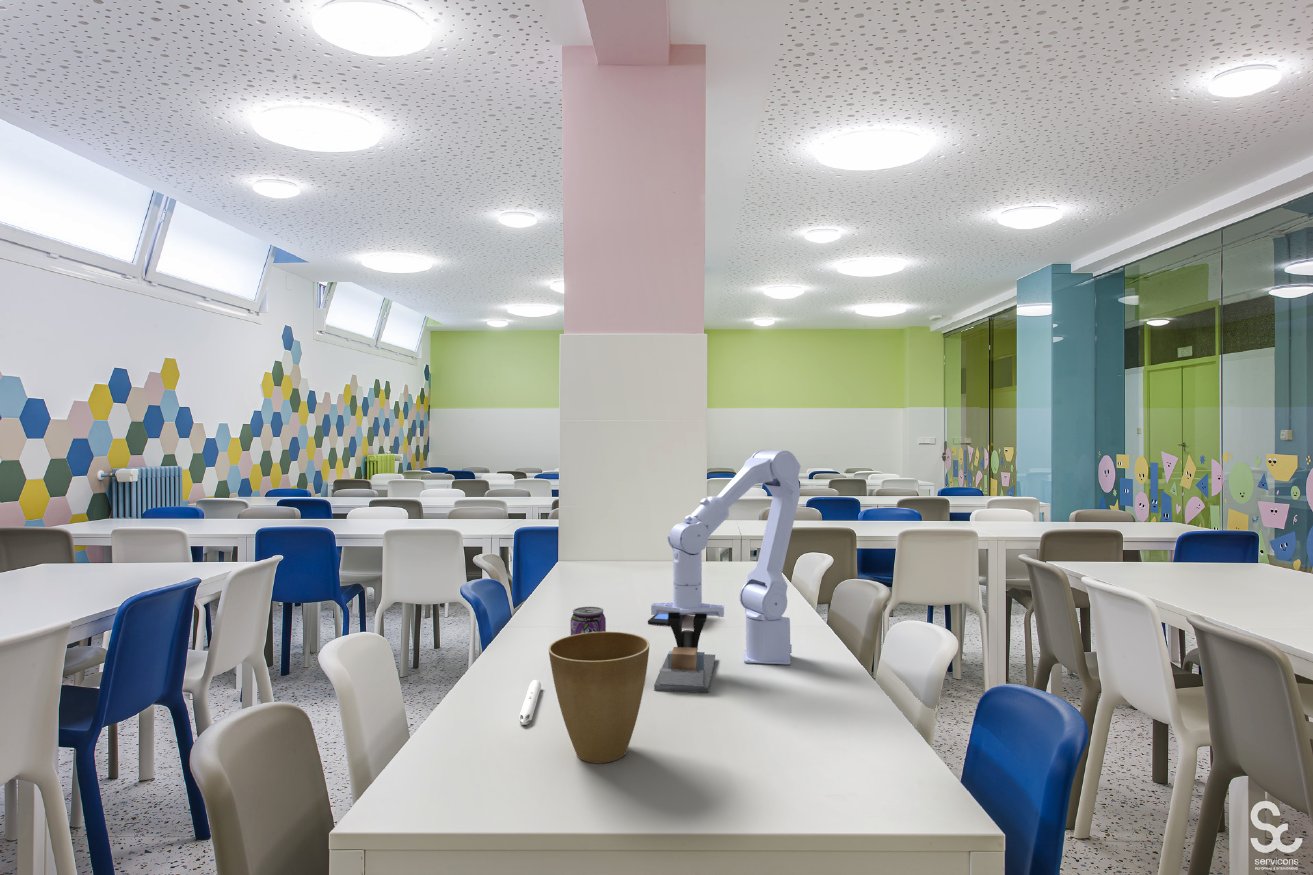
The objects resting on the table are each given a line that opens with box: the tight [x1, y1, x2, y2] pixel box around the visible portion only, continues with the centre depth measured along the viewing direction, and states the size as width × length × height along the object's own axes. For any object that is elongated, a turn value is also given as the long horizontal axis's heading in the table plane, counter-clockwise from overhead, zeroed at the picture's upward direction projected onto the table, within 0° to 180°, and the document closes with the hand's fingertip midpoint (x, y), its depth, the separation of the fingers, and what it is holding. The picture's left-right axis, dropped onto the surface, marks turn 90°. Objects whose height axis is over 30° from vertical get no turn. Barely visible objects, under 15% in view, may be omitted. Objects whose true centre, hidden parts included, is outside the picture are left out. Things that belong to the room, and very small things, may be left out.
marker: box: [518, 679, 542, 726], centre depth 122 cm, size 18×2×2 cm, turn 4°
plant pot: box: [547, 631, 650, 764], centre depth 104 cm, size 15×15×16 cm
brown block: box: [671, 646, 698, 670], centre depth 134 cm, size 4×4×5 cm
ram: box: [667, 629, 705, 671], centre depth 140 cm, size 6×7×6 cm
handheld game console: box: [647, 614, 688, 627], centre depth 182 cm, size 12×11×7 cm
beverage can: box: [570, 606, 607, 636], centre depth 142 cm, size 7×7×12 cm
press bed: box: [653, 653, 716, 694], centre depth 139 cm, size 20×10×4 cm, turn 171°
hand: (687, 650), depth 141 cm, fingers closed on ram, 2 cm apart
